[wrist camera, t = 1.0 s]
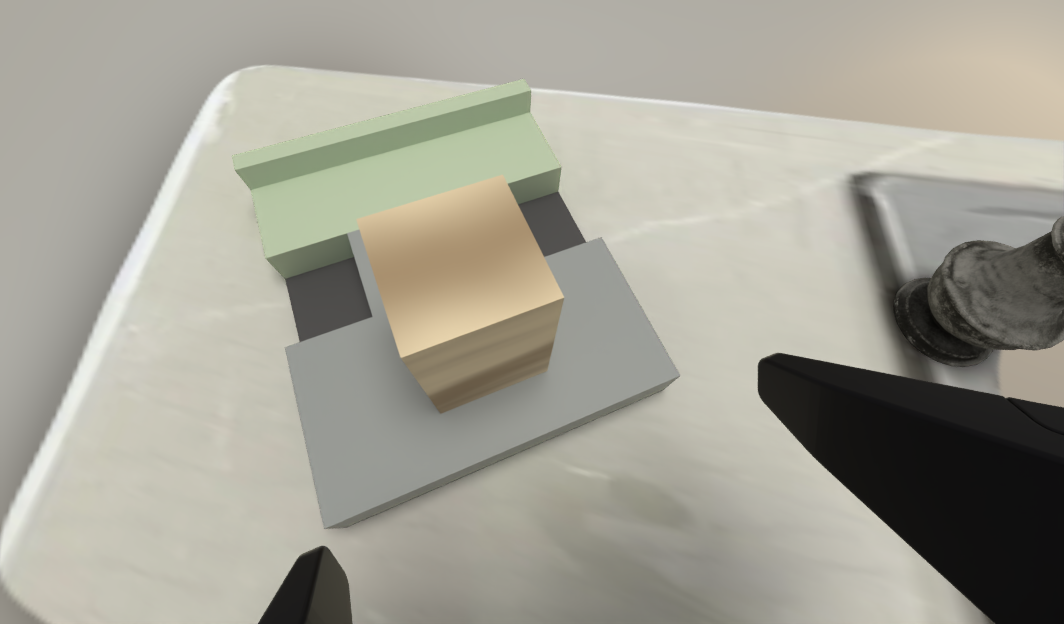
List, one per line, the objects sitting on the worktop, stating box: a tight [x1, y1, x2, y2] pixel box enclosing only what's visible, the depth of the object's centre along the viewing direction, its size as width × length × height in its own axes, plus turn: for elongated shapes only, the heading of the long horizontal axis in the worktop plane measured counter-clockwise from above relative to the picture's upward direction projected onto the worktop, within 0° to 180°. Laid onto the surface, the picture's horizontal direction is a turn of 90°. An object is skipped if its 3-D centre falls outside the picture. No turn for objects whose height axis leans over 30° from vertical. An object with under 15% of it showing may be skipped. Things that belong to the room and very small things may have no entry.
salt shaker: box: [894, 216, 1064, 367], centre depth 19 cm, size 6×6×12 cm
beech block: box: [356, 175, 564, 414], centre depth 17 cm, size 5×5×8 cm
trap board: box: [232, 79, 680, 529], centre depth 23 cm, size 18×16×4 cm
